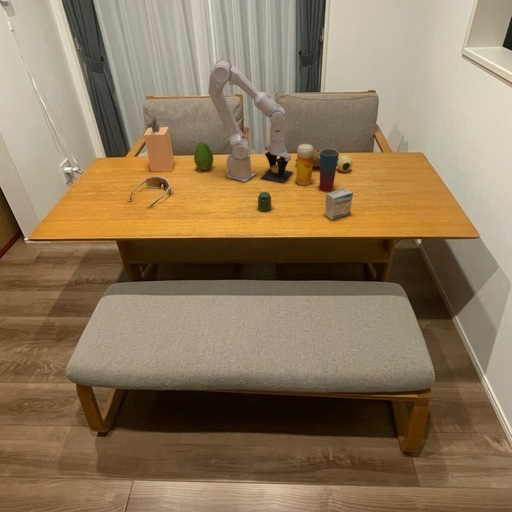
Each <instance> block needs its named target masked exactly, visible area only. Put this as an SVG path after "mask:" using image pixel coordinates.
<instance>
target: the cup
mask: <svg viewBox="0 0 512 512" xmlns="http://www.w3.org/2000/svg"><path fill="white" fill-rule="evenodd" d="M320 150H321V151H320V167H319V191H322V192H326V193H330V192H333V189H334V184H335V178H336V172H337V162H338V158H339V157H340V155H339V154H340V151H339V150H338V149H335V148H331V147H327V148H322V149H320Z"/></svg>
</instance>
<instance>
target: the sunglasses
mask: <svg viewBox="0 0 512 512" xmlns="http://www.w3.org/2000/svg"><path fill="white" fill-rule="evenodd" d="M144 184H145V186H146V187H147V188H150V189H160V188H161V187H163V189H165V192H164V193H163V194H162V195H161V196H160V197H158V198H157V199H156V200H154V201H153V202H152V203H151V204H149V206H148V208H151V207H153V206H154V205H155V204H157V203H158V202H159V201H160V200H162V199H163V198H164V197H165V196H166V194H168V193H169V194H170V195H171V194H172V188H171V187H172V186H171V183H170V182H169V180H168V179H167V178H165V177H164V176H159V175H153V176H150V177H145V179H144V180H142V181H141V182H140V183H138V184H137V185H136V186H135V187H134V188H133V189H132V190H131V191H130V194H129V198H128V202H131V198H132V195H133V194H134V192H135V191H136V190H137V189H138V188H139V187H140V186H142V185H144Z"/></svg>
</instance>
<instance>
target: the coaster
mask: <svg viewBox="0 0 512 512" xmlns="http://www.w3.org/2000/svg"><path fill="white" fill-rule="evenodd" d="M293 173H294V172H293V171H290V170H285V171H284V174H282V175H279V173H274V172H272V171H271V169H270V168H269V169H268V170H267V171H266V172H265V173H264V174H263V176H262V177H261V178H260V179H261V180H264V181H270V182H274V183H279V184H285V183H286V182H287V181H288V180H289V178H290V177H291V176H292V175H293Z"/></svg>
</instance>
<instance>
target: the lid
mask: <svg viewBox="0 0 512 512" xmlns="http://www.w3.org/2000/svg"><path fill="white" fill-rule="evenodd" d="M271 171H272V172H274V173H279V172H278V164H277V163H276V165H273V166H271Z"/></svg>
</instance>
